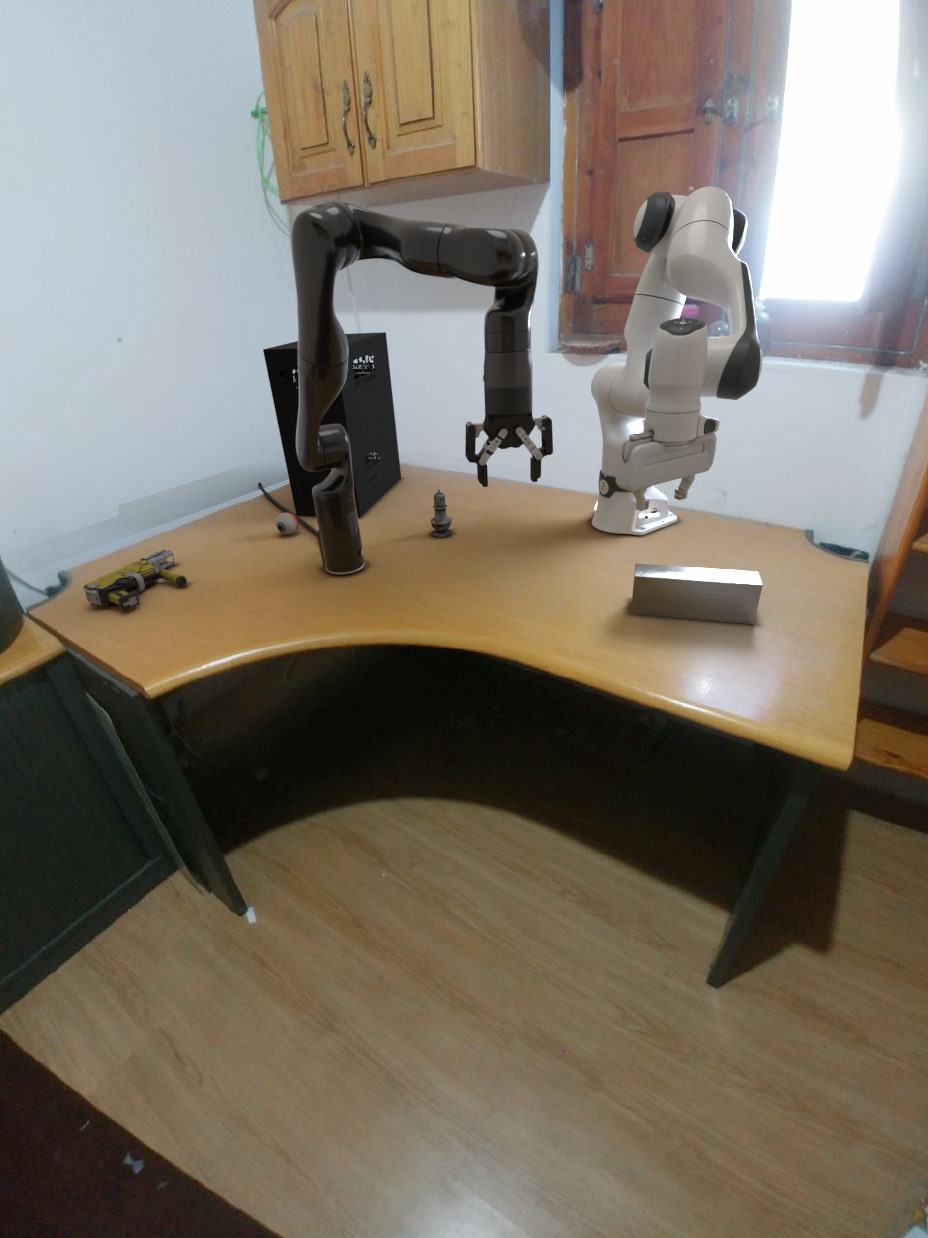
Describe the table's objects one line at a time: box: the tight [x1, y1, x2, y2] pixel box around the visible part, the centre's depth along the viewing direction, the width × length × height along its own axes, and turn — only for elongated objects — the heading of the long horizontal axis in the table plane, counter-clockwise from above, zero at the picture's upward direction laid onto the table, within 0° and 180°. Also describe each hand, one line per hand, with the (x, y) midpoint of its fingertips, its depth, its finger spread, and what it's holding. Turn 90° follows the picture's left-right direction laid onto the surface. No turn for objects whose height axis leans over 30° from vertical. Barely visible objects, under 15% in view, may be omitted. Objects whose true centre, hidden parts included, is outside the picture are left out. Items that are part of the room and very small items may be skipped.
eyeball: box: [275, 511, 300, 536], centre depth 163 cm, size 6×6×6 cm
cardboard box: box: [262, 331, 402, 518], centre depth 180 cm, size 38×20×45 cm, turn 167°
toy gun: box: [83, 548, 188, 613], centre depth 139 cm, size 5×24×15 cm
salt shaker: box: [429, 488, 453, 538], centre depth 157 cm, size 6×6×12 cm
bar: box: [630, 563, 763, 625], centre depth 116 cm, size 22×6×8 cm, turn 74°
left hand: (509, 483), depth 102 cm, fingers open, 8 cm apart
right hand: (661, 504), depth 109 cm, fingers open, 8 cm apart
